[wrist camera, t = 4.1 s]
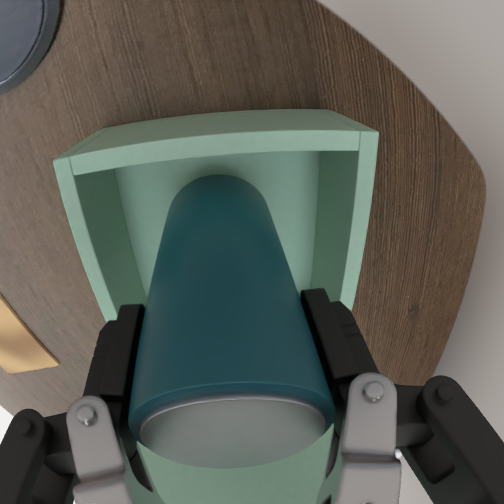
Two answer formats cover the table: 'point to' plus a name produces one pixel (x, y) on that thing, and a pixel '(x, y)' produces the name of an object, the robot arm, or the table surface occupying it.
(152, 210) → the cool box
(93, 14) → the table surface
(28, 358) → the coaster
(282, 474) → the cool box lid
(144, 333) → the can
